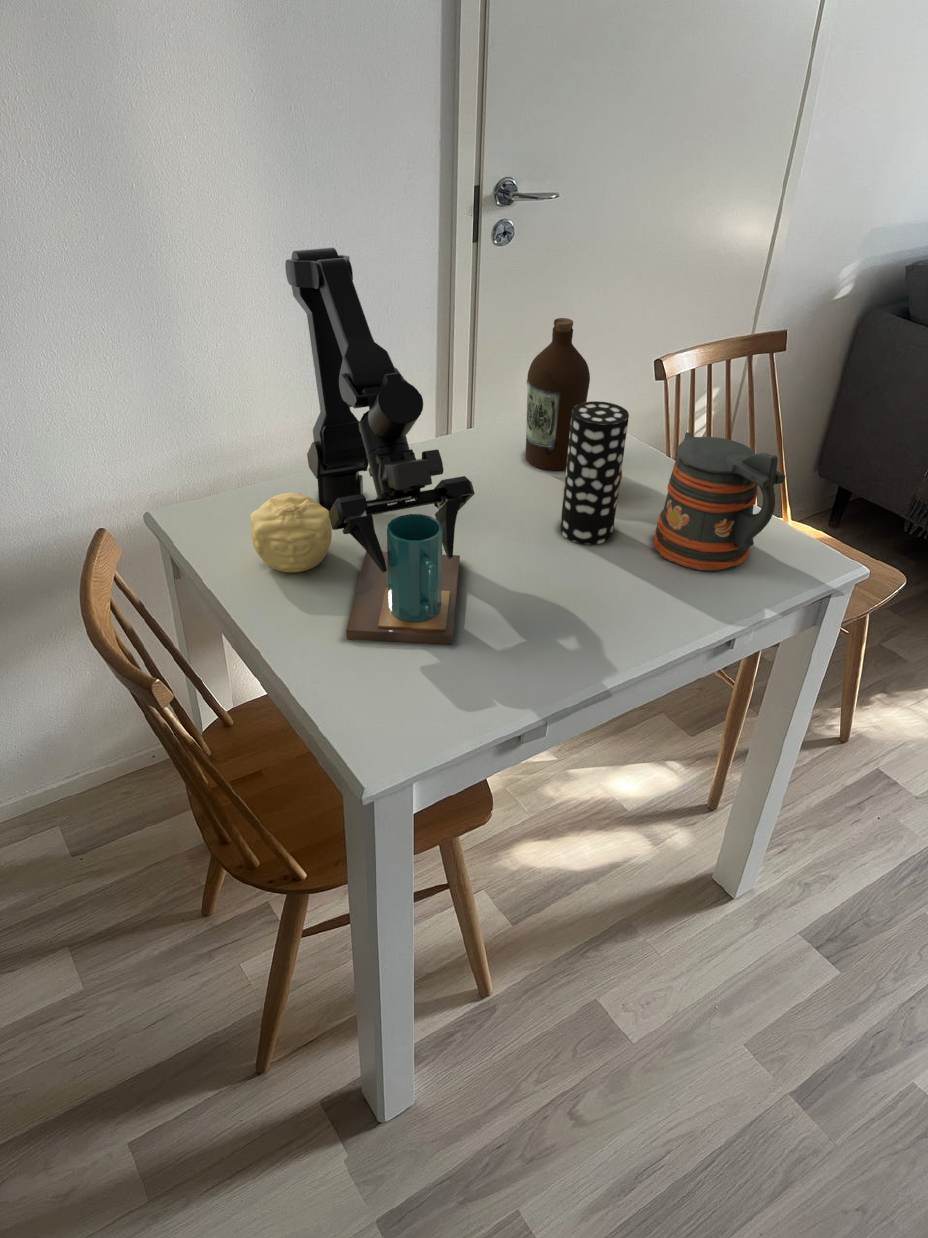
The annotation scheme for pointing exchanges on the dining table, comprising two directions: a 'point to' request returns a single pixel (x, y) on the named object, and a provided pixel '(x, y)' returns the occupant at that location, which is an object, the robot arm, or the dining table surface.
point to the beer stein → (715, 503)
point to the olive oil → (554, 398)
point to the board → (380, 625)
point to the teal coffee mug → (414, 567)
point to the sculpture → (291, 532)
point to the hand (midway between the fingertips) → (418, 564)
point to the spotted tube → (593, 471)
